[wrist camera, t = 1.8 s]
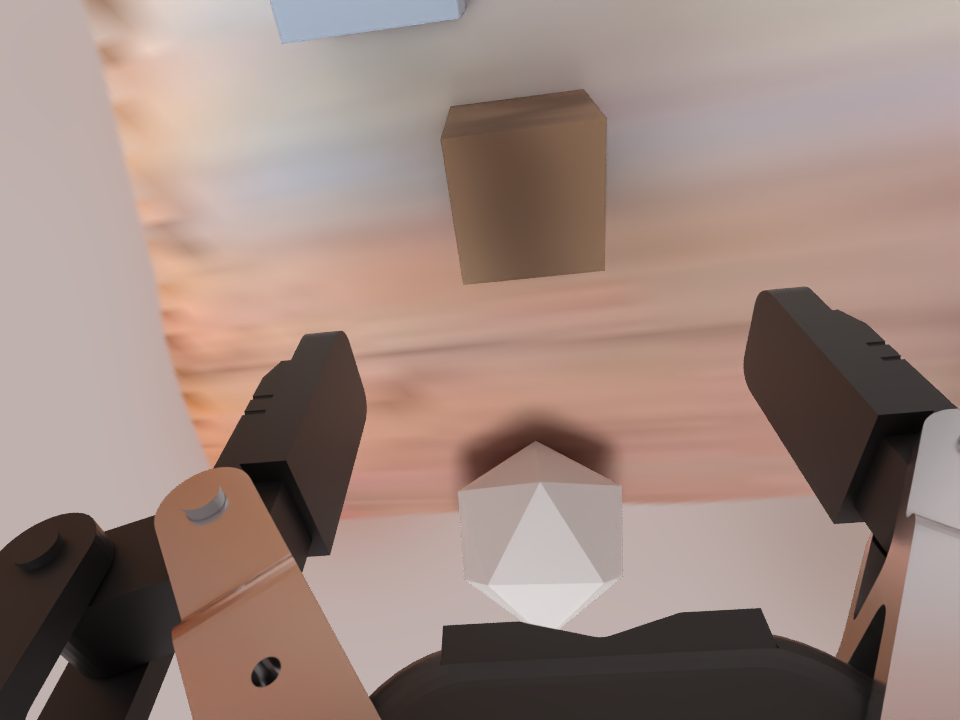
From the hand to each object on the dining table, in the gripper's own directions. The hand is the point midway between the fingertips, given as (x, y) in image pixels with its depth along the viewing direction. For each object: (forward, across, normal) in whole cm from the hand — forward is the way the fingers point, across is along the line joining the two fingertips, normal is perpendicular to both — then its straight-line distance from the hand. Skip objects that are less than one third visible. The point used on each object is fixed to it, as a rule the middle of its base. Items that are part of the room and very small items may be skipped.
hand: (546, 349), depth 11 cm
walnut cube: (+13, 0, 0) cm, 13 cm away
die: (+8, 0, +13) cm, 16 cm away
